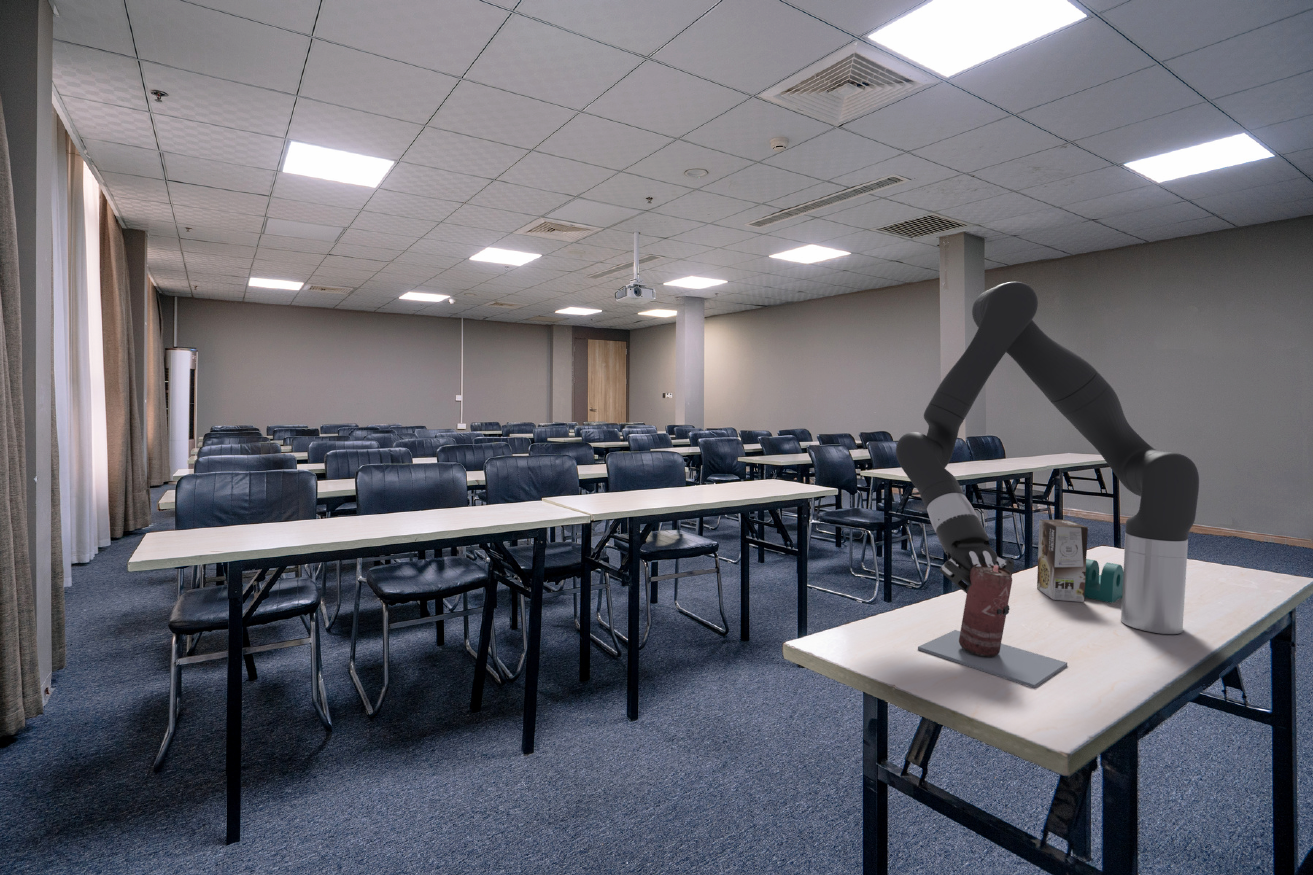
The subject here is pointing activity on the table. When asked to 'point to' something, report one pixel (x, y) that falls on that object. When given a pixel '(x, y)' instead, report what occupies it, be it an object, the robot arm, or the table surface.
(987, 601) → the can
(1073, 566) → the coffee box
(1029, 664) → the mat
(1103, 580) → the bracket
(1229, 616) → the table surface
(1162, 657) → the table surface
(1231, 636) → the table surface
